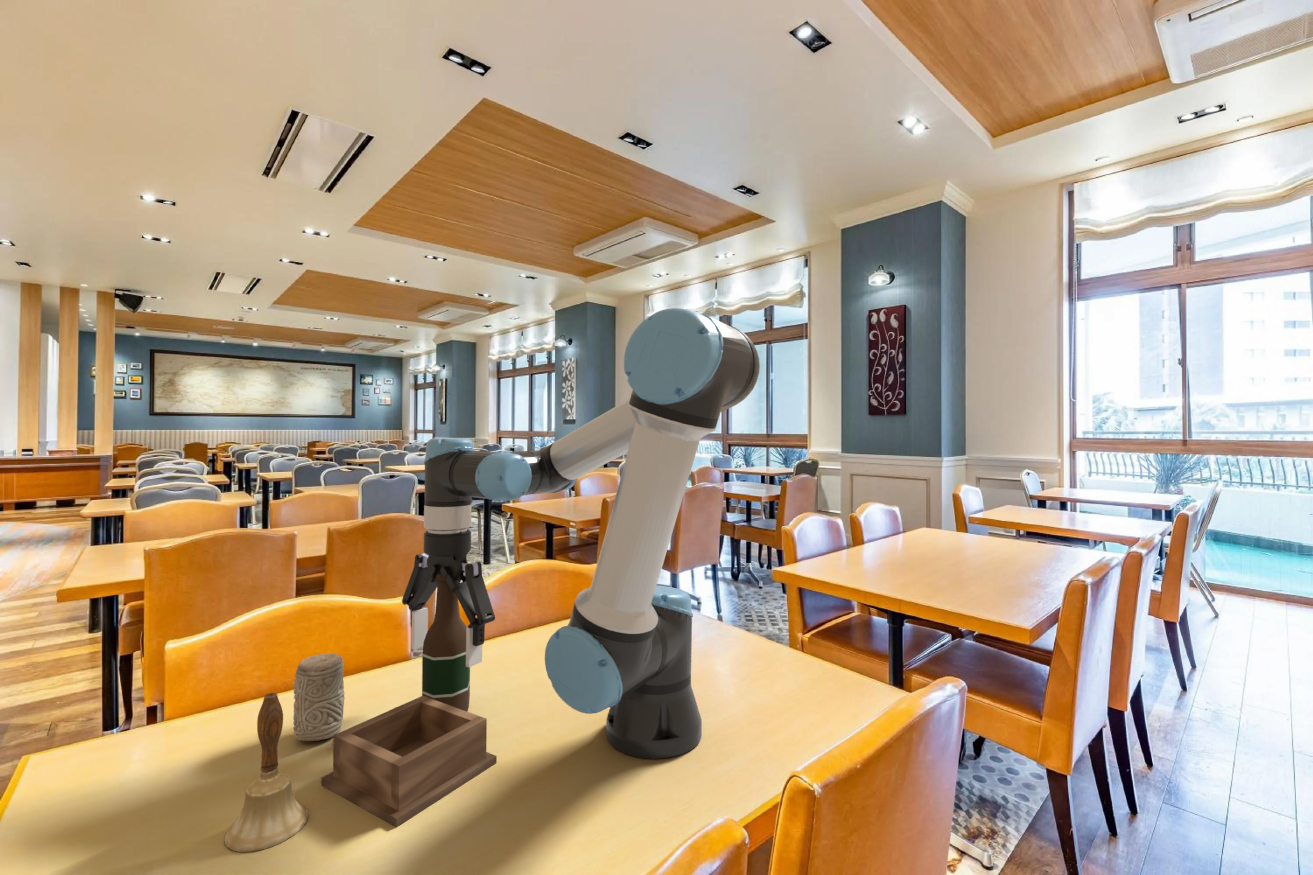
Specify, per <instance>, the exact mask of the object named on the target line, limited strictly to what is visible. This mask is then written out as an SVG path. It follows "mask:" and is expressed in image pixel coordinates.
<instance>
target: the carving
mask: <svg viewBox="0 0 1313 875" xmlns="http://www.w3.org/2000/svg"><path fill="white" fill-rule="evenodd" d="M344 668H345V667H344V659H343V657H342V656H341V655H340V654H336V653H333V652H332V653H331V652H330V653H321V654H315V655H314V654H313V655H310V656H308V657H306V658H304V659H302V660H301V661H299V664H298V665H297V668H296V670H295V676H294V683H293V689H294V690H293V699H294V702H293V717H292V719H293V733H294V736H295V737H296V739H297V740H298V741H302V742H303V741H304V742H305V741H306V742H317V741H321V740H326V739H330V738H333V735H335V734H337V733H340V732H341V729H342V726H343V720H344V705H345V690H344V689H345V686H344V685H345V683H344Z"/></svg>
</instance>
